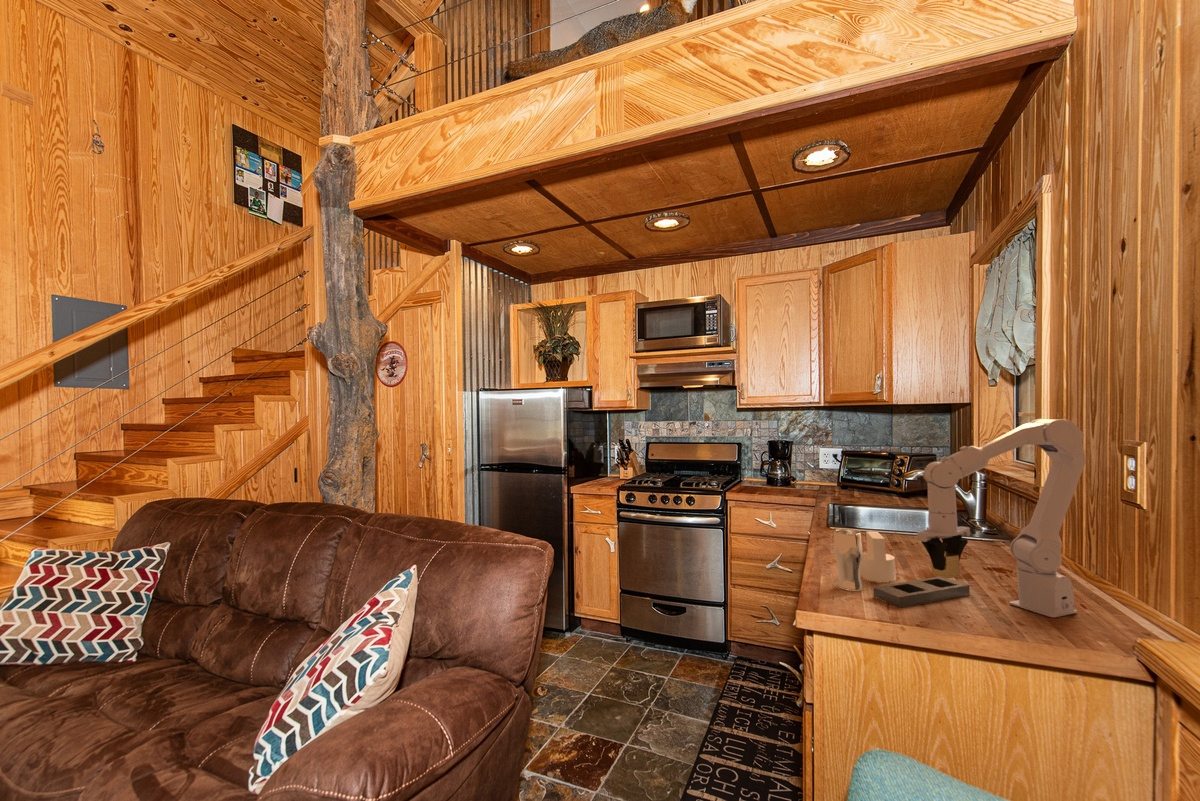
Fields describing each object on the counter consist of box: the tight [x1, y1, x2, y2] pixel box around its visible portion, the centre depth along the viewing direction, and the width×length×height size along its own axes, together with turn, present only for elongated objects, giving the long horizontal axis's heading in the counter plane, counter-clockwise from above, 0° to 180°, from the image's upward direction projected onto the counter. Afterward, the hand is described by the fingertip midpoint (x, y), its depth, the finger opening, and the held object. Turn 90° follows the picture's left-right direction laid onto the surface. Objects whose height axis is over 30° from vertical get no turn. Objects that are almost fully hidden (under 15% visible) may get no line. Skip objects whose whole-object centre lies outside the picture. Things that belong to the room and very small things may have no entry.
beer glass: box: [833, 528, 864, 591], centre depth 140 cm, size 7×7×15 cm
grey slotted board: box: [872, 576, 971, 609], centre depth 132 cm, size 22×8×2 cm, turn 107°
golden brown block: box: [930, 551, 961, 579], centre depth 127 cm, size 4×4×5 cm
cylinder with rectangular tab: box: [861, 530, 897, 583], centre depth 148 cm, size 9×9×12 cm
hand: (945, 568), depth 126 cm, fingers closed on golden brown block, 4 cm apart
